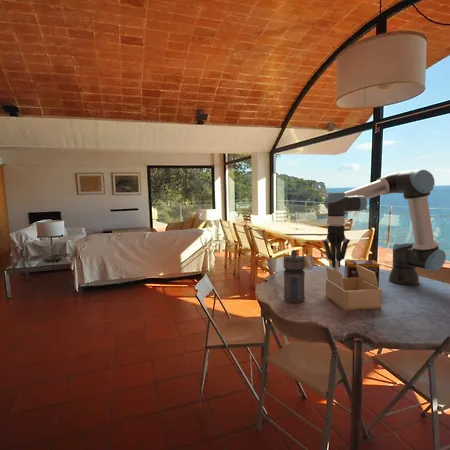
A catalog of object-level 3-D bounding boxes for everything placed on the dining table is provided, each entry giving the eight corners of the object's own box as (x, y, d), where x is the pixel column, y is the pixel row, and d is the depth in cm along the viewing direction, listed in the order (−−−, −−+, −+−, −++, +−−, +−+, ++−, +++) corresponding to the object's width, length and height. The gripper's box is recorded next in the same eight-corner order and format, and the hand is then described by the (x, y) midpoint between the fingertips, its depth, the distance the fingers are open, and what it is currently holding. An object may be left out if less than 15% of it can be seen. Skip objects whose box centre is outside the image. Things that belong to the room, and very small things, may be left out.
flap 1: (328, 278, 151) (326, 266, 150) (343, 288, 136) (342, 274, 135) (327, 278, 151) (326, 266, 150) (342, 288, 136) (341, 274, 135)
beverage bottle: (304, 295, 156) (304, 248, 153) (305, 304, 143) (305, 253, 141) (284, 294, 158) (283, 248, 156) (283, 303, 145) (283, 253, 143)
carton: (357, 293, 156) (357, 277, 155) (381, 308, 136) (382, 289, 135) (325, 295, 155) (325, 278, 154) (345, 311, 134) (345, 291, 133)
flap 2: (359, 276, 153) (356, 264, 152) (378, 285, 137) (375, 272, 136) (358, 277, 153) (355, 265, 152) (377, 286, 137) (374, 272, 136)
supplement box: (379, 293, 156) (379, 264, 154) (347, 292, 159) (348, 263, 157) (373, 287, 166) (374, 260, 164) (344, 286, 169) (344, 259, 167)
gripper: (345, 223, 145) (344, 271, 147) (319, 224, 144) (319, 272, 146) (353, 225, 137) (352, 275, 140) (326, 226, 136) (326, 276, 138)
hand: (335, 273), depth 143 cm, fingers closed
